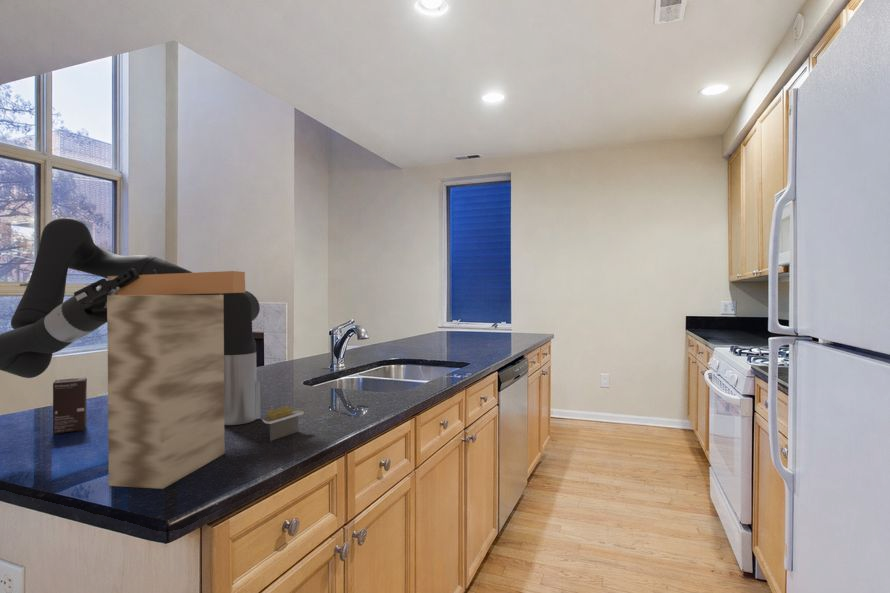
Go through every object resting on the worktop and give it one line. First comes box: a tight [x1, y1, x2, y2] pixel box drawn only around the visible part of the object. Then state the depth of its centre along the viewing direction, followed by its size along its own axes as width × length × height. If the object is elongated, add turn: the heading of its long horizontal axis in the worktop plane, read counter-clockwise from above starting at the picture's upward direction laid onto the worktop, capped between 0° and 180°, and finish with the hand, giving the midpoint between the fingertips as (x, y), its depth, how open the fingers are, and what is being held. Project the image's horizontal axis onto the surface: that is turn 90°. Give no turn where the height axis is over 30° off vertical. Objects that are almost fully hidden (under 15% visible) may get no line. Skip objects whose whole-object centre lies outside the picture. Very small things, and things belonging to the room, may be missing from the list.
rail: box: [106, 270, 246, 295], centre depth 90 cm, size 26×4×4 cm, turn 83°
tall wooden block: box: [106, 295, 226, 490], centre depth 86 cm, size 10×17×32 cm, turn 173°
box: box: [52, 377, 88, 435], centre depth 110 cm, size 6×4×12 cm
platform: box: [262, 405, 304, 442], centre depth 105 cm, size 12×18×7 cm, turn 151°
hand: (146, 273), depth 91 cm, fingers open, 4 cm apart
